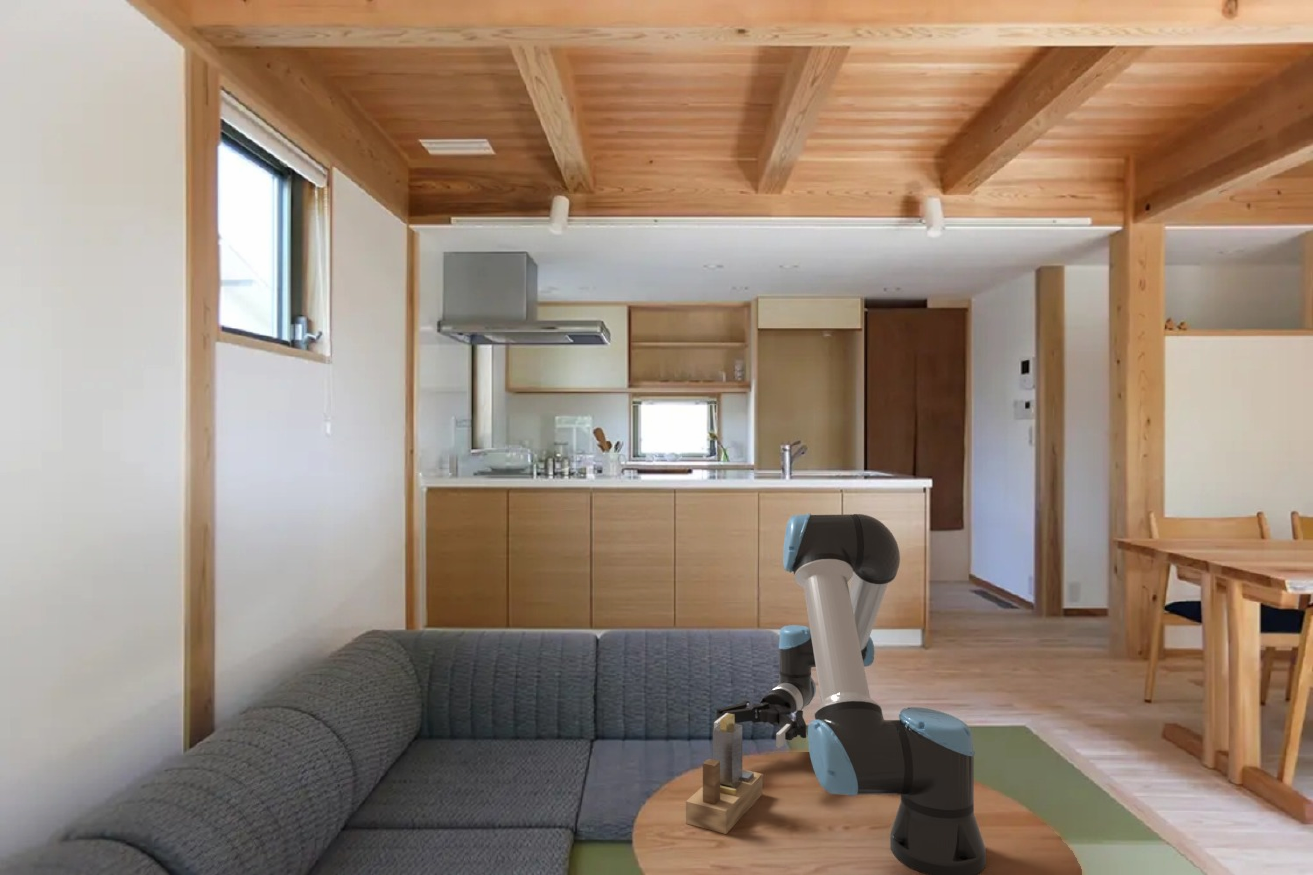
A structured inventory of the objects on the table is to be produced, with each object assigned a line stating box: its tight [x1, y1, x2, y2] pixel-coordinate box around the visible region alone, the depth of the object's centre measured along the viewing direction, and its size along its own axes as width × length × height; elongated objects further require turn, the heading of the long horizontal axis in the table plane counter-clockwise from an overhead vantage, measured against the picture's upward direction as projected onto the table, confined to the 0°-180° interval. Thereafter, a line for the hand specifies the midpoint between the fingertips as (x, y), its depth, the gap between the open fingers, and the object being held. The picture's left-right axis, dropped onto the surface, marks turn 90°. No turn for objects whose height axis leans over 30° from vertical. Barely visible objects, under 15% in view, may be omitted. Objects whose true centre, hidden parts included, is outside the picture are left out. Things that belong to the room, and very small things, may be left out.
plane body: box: [685, 758, 763, 835], centre depth 145 cm, size 8×18×11 cm, turn 151°
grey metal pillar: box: [712, 714, 743, 789], centre depth 145 cm, size 4×5×13 cm
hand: (746, 734), depth 154 cm, fingers open, 13 cm apart
